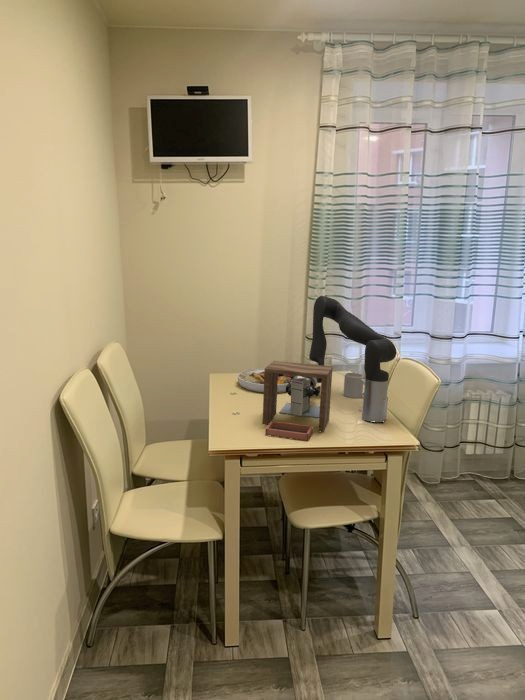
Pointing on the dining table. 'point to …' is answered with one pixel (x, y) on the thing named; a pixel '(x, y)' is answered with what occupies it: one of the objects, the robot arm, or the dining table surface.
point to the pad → (313, 413)
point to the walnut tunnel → (296, 370)
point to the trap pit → (289, 430)
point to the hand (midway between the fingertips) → (299, 394)
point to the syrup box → (300, 396)
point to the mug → (353, 385)
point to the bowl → (262, 380)
